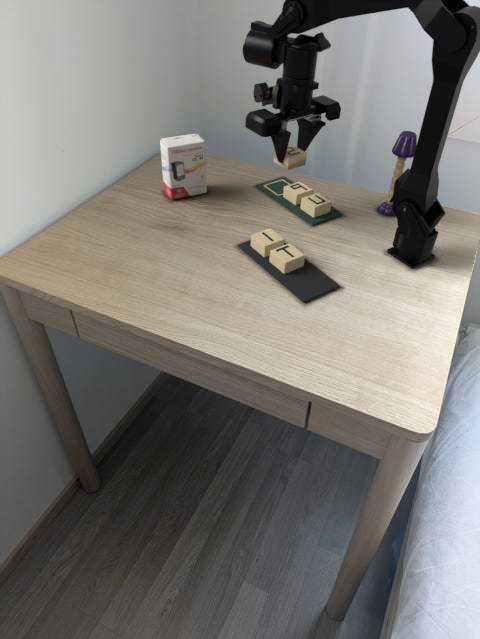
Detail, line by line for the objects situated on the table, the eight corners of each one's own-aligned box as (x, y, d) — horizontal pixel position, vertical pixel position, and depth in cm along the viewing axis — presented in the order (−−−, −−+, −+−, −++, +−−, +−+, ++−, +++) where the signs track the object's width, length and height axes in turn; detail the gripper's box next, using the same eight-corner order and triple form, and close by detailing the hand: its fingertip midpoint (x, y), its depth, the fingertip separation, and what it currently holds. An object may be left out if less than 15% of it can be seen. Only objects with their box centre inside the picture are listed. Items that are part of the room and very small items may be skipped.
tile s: (305, 165, 97) (307, 152, 95) (287, 170, 95) (288, 157, 93) (291, 156, 100) (292, 144, 98) (273, 161, 98) (274, 148, 96)
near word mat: (339, 287, 85) (342, 273, 83) (304, 303, 82) (306, 289, 80) (271, 234, 98) (272, 220, 96) (237, 246, 94) (237, 232, 92)
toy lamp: (379, 203, 108) (397, 127, 96) (401, 207, 106) (422, 130, 95) (376, 213, 104) (394, 136, 93) (398, 218, 103) (420, 139, 92)
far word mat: (341, 215, 104) (343, 202, 101) (312, 225, 100) (314, 212, 98) (283, 177, 116) (284, 165, 114) (255, 186, 112) (256, 174, 110)
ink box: (170, 201, 106) (166, 148, 98) (163, 191, 110) (158, 138, 102) (208, 193, 109) (206, 141, 101) (199, 183, 113) (197, 132, 105)
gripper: (309, 55, 95) (300, 135, 106) (229, 70, 87) (227, 154, 98) (349, 71, 89) (335, 154, 99) (266, 88, 80) (261, 177, 91)
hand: (289, 159), depth 97 cm, fingers closed on tile s, 4 cm apart
